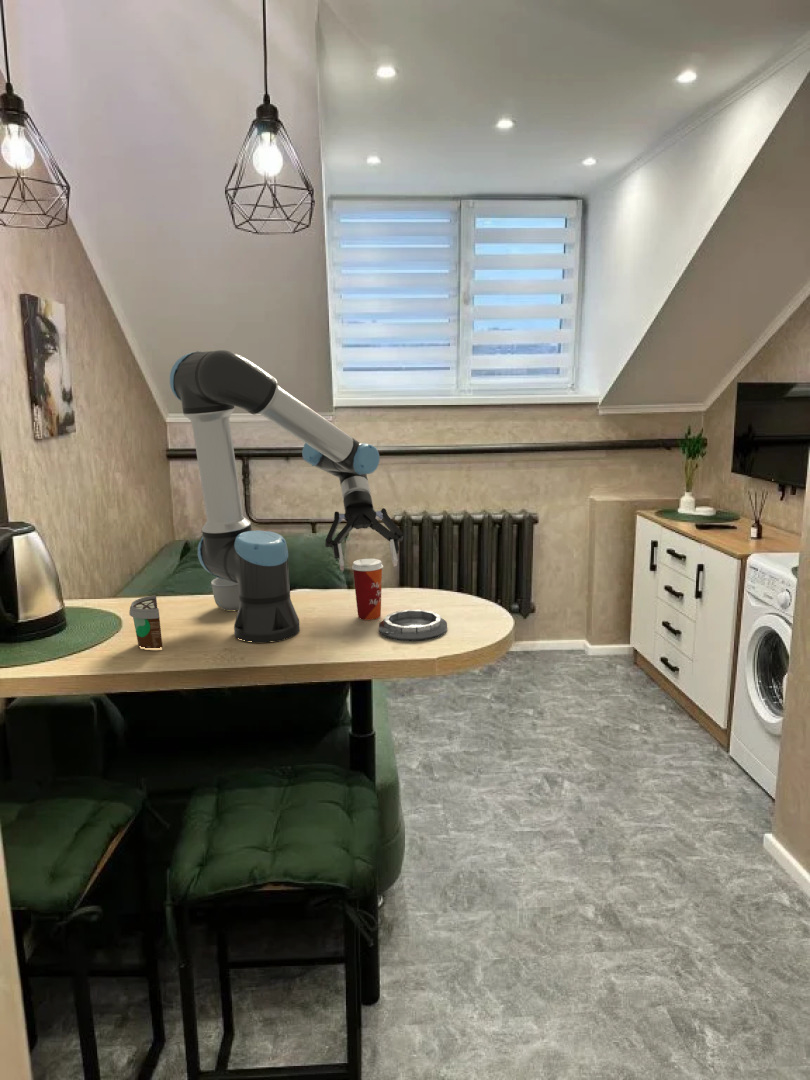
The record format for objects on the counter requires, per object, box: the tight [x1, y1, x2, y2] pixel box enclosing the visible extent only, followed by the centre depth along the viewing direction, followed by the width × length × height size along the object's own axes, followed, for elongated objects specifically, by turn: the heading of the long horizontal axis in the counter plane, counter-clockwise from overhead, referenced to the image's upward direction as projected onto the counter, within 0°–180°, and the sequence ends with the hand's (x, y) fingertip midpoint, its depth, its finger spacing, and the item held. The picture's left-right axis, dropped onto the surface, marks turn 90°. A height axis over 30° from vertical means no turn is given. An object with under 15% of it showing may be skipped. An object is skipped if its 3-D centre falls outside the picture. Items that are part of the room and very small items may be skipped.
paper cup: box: [351, 558, 384, 621], centre depth 185 cm, size 8×8×14 cm
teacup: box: [210, 577, 240, 611], centre depth 197 cm, size 14×11×8 cm
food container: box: [128, 594, 163, 648], centre depth 170 cm, size 12×6×10 cm, turn 21°
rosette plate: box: [378, 609, 448, 642], centre depth 176 cm, size 16×16×3 cm
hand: (369, 566), depth 189 cm, fingers open, 13 cm apart
